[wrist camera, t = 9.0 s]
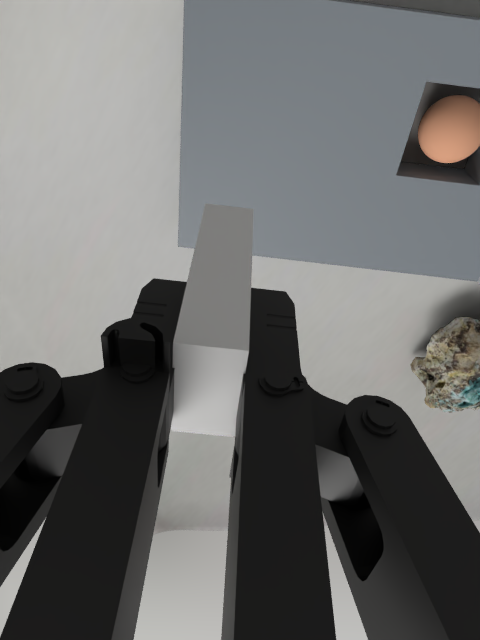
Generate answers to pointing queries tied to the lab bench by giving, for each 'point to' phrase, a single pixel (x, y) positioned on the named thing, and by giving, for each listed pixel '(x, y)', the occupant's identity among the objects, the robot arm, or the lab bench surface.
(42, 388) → the robot arm
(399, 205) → the grey flat block
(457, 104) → the ball
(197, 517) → the lab bench surface
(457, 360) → the mineral specimen
